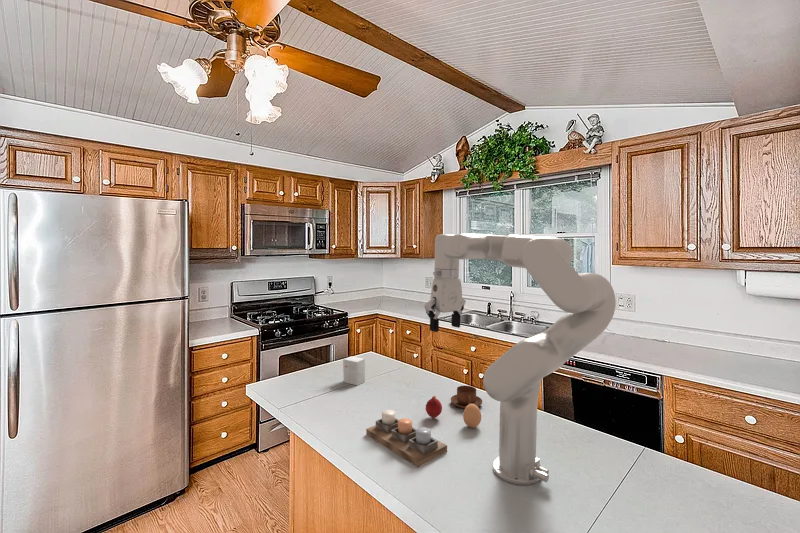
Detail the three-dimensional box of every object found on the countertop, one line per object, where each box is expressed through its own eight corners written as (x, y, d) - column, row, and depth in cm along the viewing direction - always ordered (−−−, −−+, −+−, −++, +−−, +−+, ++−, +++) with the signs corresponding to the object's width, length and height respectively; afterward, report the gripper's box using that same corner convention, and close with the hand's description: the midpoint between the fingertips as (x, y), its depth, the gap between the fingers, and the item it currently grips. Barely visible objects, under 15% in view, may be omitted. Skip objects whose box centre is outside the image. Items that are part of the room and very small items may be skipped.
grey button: (433, 441, 113) (433, 431, 113) (423, 446, 110) (423, 436, 110) (423, 435, 117) (423, 426, 116) (412, 440, 114) (412, 430, 114)
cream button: (398, 422, 125) (398, 413, 125) (387, 426, 123) (387, 417, 122) (389, 417, 129) (389, 408, 129) (379, 421, 126) (379, 412, 126)
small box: (365, 381, 172) (365, 358, 172) (357, 385, 168) (357, 361, 167) (351, 378, 177) (351, 355, 176) (343, 382, 172) (343, 358, 171)
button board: (447, 451, 115) (447, 438, 114) (417, 467, 107) (417, 453, 107) (394, 423, 133) (394, 412, 133) (366, 434, 125) (366, 422, 125)
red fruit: (441, 422, 133) (441, 400, 133) (424, 421, 135) (424, 398, 134) (442, 415, 139) (442, 393, 139) (426, 413, 140) (426, 392, 140)
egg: (481, 432, 127) (481, 408, 126) (462, 430, 128) (462, 407, 127) (481, 423, 133) (481, 401, 132) (463, 422, 134) (463, 399, 133)
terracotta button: (415, 431, 119) (415, 421, 119) (404, 436, 116) (404, 426, 116) (405, 426, 123) (405, 417, 123) (395, 430, 120) (395, 421, 120)
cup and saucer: (488, 408, 145) (488, 392, 145) (460, 413, 141) (460, 397, 140) (471, 396, 156) (471, 381, 156) (445, 401, 152) (445, 385, 152)
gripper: (435, 277, 111) (434, 335, 112) (474, 274, 122) (472, 327, 124) (417, 274, 117) (416, 330, 118) (456, 272, 128) (454, 323, 129)
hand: (445, 328), depth 121 cm, fingers open, 9 cm apart
